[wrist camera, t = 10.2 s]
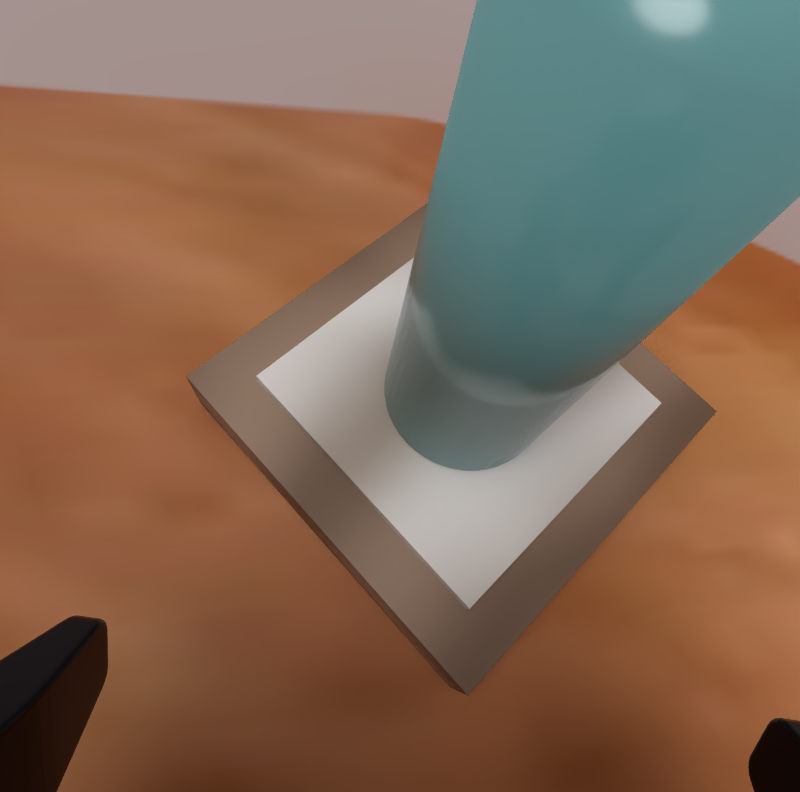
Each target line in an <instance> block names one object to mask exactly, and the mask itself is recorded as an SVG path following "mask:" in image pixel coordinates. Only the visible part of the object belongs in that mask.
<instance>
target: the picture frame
mask: <svg viewBox="0 0 800 792" xmlns="http://www.w3.org/2000/svg"><path fill="white" fill-rule="evenodd" d="M426 207H427V204H426V205H425V206H423V207H422V208H420V209H419V210H418V211H416V212H415V213H413V214H412V215H411V216H409V217H408V218H406V219H405V220H404V221H402V222H401V223H399V224H398V225H397V226H395V227H394V228H392V229H391V230H390V231H388V232H387V233H385V234H384V235H383V236H381V237H380V238H379V239H377V240H376V241H374V242H373V243H372V244H370V245H369V246H367V247H366V248H365V249H363V250H362V251H360V252H359V253H358V254H356V255H355V256H353V257H352V258H351V259H349V260H348V261H346V262H345V263H344V264H342V265H341V266H339V267H338V268H337V269H335V270H334V271H332V272H331V273H330V274H328V275H327V276H325V277H324V278H323V279H321V280H320V281H318V282H317V283H316V284H314V285H313V286H311V287H310V288H309V289H307V290H306V291H305V292H303V293H302V294H300V295H299V296H298V297H296V298H295V299H293V300H292V301H291V302H289V303H288V304H286V305H285V306H284V307H282V308H281V309H279V310H278V311H277V312H275V313H274V314H272V315H271V316H270V317H268V318H267V319H265V320H264V321H263V322H261V323H260V324H258V325H257V326H256V327H254V328H253V329H251V330H250V331H249V332H247V333H246V334H244V335H243V336H242V337H240V338H239V339H237V340H236V341H235V342H233V343H232V344H230V345H229V346H228V347H226V348H225V349H224V350H222V351H221V352H219V353H218V354H217V355H215V356H214V357H212V358H211V359H210V360H208V361H207V362H205V363H204V364H203V365H201V366H200V367H198V368H197V369H196V370H194V371H193V372H191V373H190V374H189V375H187V376H186V377H187V379H188V381H189V383H190V384H191V386H192V388H193V390H194V392H195V393H196V395H197V397H198V399H199V400H200V402H201V404H202V405H203V406H204V407H205V408H206V409H207V411H208V412H209V413H210V414H211V415H212V416H213V417H214V419H215V420H216V421H217V422H218V423H219V424H220V425H221V426H222V428H223V429H224V430H225V431H226V432H227V433H228V434H229V436H230V437H231V438H232V439H233V440H234V441H235V442H236V444H237V445H238V446H239V447H240V448H241V449H242V450H243V451H244V453H245V454H246V455H247V456H248V457H249V458H250V459H251V461H252V462H253V463H254V464H255V465H256V466H257V467H258V469H259V470H260V471H261V472H262V473H263V474H264V475H265V477H266V478H267V479H268V480H269V481H270V482H271V483H272V484H273V486H274V487H275V488H276V489H277V490H278V491H279V492H280V494H281V495H282V496H283V497H284V498H285V499H286V500H287V502H288V503H289V504H290V505H291V506H292V507H293V508H294V509H295V511H296V512H297V513H298V514H299V515H300V516H301V517H302V519H303V520H304V521H305V522H306V523H307V524H308V525H309V527H310V528H311V529H312V530H313V531H314V532H315V533H316V534H317V536H318V537H319V538H320V539H321V540H322V541H323V542H324V544H325V545H326V546H327V547H328V548H329V549H330V550H331V552H332V553H333V554H334V555H335V556H336V557H337V558H338V560H339V561H340V562H341V563H342V564H343V565H344V566H345V567H346V569H347V570H348V571H349V572H350V573H351V574H352V575H353V577H354V578H355V579H356V580H357V581H358V582H359V583H360V585H361V586H362V587H363V588H364V589H365V590H366V591H367V592H368V594H369V595H370V596H371V597H372V598H373V599H374V600H375V602H376V603H377V604H378V605H379V606H380V607H381V608H382V610H383V611H384V612H385V613H386V614H387V615H388V616H389V617H390V619H391V620H392V621H393V622H394V623H395V624H396V625H397V627H398V628H399V629H400V630H401V631H402V632H403V633H404V635H405V636H406V637H407V638H408V639H409V640H410V641H411V643H412V644H413V645H414V646H415V647H416V648H417V649H418V650H419V652H420V653H421V654H422V655H423V656H424V657H425V658H426V660H427V661H428V662H429V663H430V664H431V665H432V666H433V668H434V669H435V670H436V671H437V672H438V673H439V674H440V675H441V677H442V678H443V679H444V680H445V681H446V682H447V683H448V685H449V686H450V687H452V688H454V689H456V690H458V691H460V692H462V693H464V694H466V695H468V694H469V693H470V692H471V691H472V690H473V689H474V687H475V686H476V685H477V684H478V683H479V682H480V681H481V680H482V678H483V677H484V676H485V675H486V674H487V673H488V672H489V670H490V669H491V668H492V667H493V666H494V665H495V664H496V662H497V661H498V660H499V659H500V658H501V657H502V656H503V654H504V653H505V652H506V651H507V650H508V649H509V648H510V646H511V645H512V644H513V643H514V642H515V641H516V640H517V638H518V637H519V636H520V635H521V634H522V633H523V632H524V630H525V629H526V628H527V627H528V626H529V625H530V624H531V622H532V621H533V620H534V619H535V618H536V617H537V616H538V615H539V613H540V612H541V611H542V610H543V609H544V608H545V607H546V605H547V604H548V603H549V602H550V601H551V600H552V599H553V597H554V596H555V595H556V594H557V593H558V592H559V591H560V589H561V588H562V587H563V586H564V585H565V584H566V583H567V581H568V580H569V579H570V578H571V577H572V576H573V575H574V573H575V572H576V571H577V570H578V569H579V568H580V567H581V565H582V564H583V563H584V562H585V561H586V560H587V559H588V558H589V556H590V555H591V554H592V553H593V552H594V551H595V550H596V548H597V547H598V546H599V545H600V544H601V543H602V542H603V540H604V539H605V538H606V537H607V536H608V535H609V534H610V532H611V531H612V530H613V529H614V528H615V527H616V526H617V524H618V523H619V522H620V521H621V520H622V519H623V518H624V516H625V515H626V514H627V513H628V512H629V511H630V510H631V508H632V507H633V506H634V505H635V504H636V503H637V502H638V500H639V499H640V498H641V497H642V496H643V495H644V494H645V493H646V491H647V490H648V489H649V488H650V487H651V486H652V485H653V483H654V482H655V481H656V480H657V479H658V478H659V477H660V475H661V474H662V473H663V472H664V471H665V470H666V469H667V467H668V466H669V465H670V464H671V463H672V462H673V461H674V459H675V458H676V457H677V456H678V455H679V454H680V453H681V451H682V450H683V449H684V448H685V447H686V446H687V445H688V443H689V442H690V441H691V440H692V439H693V438H694V437H695V436H696V434H697V433H698V432H699V431H700V430H701V429H702V428H703V426H704V425H705V424H706V423H707V422H708V421H709V420H710V418H711V417H712V416H713V415H714V414H715V413H716V412H717V411H716V410H714V409H713V408H712V407H711V406H710V405H709V404H708V403H707V402H706V401H704V400H703V399H702V398H701V397H700V396H699V395H698V394H697V393H696V392H694V391H693V390H692V389H691V388H690V387H689V386H688V385H687V384H686V383H684V382H683V381H682V380H681V379H680V378H679V377H678V376H677V375H676V374H674V373H673V372H672V371H671V370H670V369H669V368H668V367H667V366H666V365H664V364H663V363H662V362H661V361H660V360H659V359H658V358H657V357H655V356H654V355H653V354H652V353H651V352H650V351H649V350H648V349H647V348H645V347H644V346H643V345H642V344H641V343H640V344H639V345H638V346H636V347H635V348H634V349H633V350H632V351H631V352H630V353H629V354H628V355H627V356H626V357H625V358H623V359H622V360H621V361H620V362H619V363H618V364H617V365H616V366H615V367H614V368H613V369H611V370H610V371H609V372H608V373H607V374H606V375H605V376H604V377H603V378H602V379H601V380H600V381H598V382H597V383H596V384H595V385H594V386H593V387H592V388H591V389H590V390H589V391H588V392H586V393H585V394H584V395H583V396H582V397H581V398H580V399H579V400H578V401H577V402H576V403H575V404H573V405H572V406H571V407H570V408H569V409H568V410H567V411H566V412H565V413H564V414H563V415H561V416H560V417H559V418H558V419H557V420H556V421H555V422H554V423H553V424H552V425H551V426H550V427H548V428H547V429H546V430H545V431H544V432H543V433H542V434H541V435H540V436H539V437H538V438H536V439H535V440H534V441H533V442H532V443H531V444H530V445H529V446H528V447H527V448H526V449H525V450H523V451H522V452H521V453H520V454H519V455H517V456H516V457H515V458H513V459H512V460H510V461H508V462H506V463H504V464H502V465H499V466H497V467H493V468H490V469H484V470H477V471H466V470H458V469H453V468H449V467H445V466H442V465H440V464H437V463H434V462H432V461H431V460H429V459H427V458H425V457H423V456H422V455H421V454H419V453H418V452H417V451H415V450H414V449H413V448H412V447H411V446H410V445H409V444H408V443H407V442H406V441H405V440H404V439H403V438H402V436H401V435H400V434H399V432H398V431H397V429H396V428H395V426H394V424H393V422H392V420H391V418H390V416H389V413H388V410H387V407H386V402H385V396H384V383H385V375H386V371H387V367H388V363H389V358H390V354H391V350H392V346H393V342H394V338H395V334H396V330H397V326H398V322H399V318H400V313H401V309H402V305H403V301H404V297H405V293H406V289H407V285H408V281H409V277H410V272H411V268H412V264H413V260H414V256H415V252H416V248H417V244H418V240H419V236H420V232H421V227H422V223H423V219H424V215H425V211H426Z"/></svg>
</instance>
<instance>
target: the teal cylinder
mask: <svg viewBox="0 0 800 792" xmlns="http://www.w3.org/2000/svg"><path fill="white" fill-rule="evenodd" d="M799 196H800V0H477V2H476V7H475V11H474V14H473V19H472V23H471V27H470V31H469V35H468V39H467V43H466V47H465V51H464V55H463V59H462V64H461V68H460V72H459V76H458V80H457V84H456V88H455V93H454V96H453V100H452V105H451V109H450V113H449V117H448V121H447V125H446V129H445V133H444V137H443V141H442V145H441V150H440V154H439V158H438V162H437V166H436V170H435V174H434V178H433V182H432V186H431V191H430V195H429V199H428V203H427V207H426V211H425V215H424V219H423V223H422V227H421V232H420V236H419V240H418V244H417V248H416V252H415V256H414V260H413V264H412V268H411V272H410V277H409V281H408V285H407V289H406V293H405V297H404V301H403V305H402V309H401V313H400V318H399V322H398V326H397V330H396V334H395V338H394V342H393V346H392V350H391V354H390V358H389V363H388V367H387V371H386V375H385V383H384V396H385V402H386V407H387V410H388V413H389V416H390V418H391V420H392V422H393V424H394V426H395V428H396V429H397V431H398V432H399V434H400V435H401V436H402V438H403V439H404V440H405V441H406V442H407V443H408V444H409V445H410V446H411V447H412V448H413V449H414V450H415V451H417V452H418V453H419V454H421V455H422V456H423V457H425V458H427V459H429V460H431V461H432V462H434V463H437V464H440V465H442V466H445V467H449V468H453V469H458V470H466V471H477V470H484V469H490V468H493V467H497V466H499V465H502V464H504V463H506V462H508V461H510V460H512V459H513V458H515V457H516V456H517V455H519V454H520V453H521V452H522V451H523V450H525V449H526V448H527V447H528V446H529V445H530V444H531V443H532V442H533V441H534V440H535V439H536V438H538V437H539V436H540V435H541V434H542V433H543V432H544V431H545V430H546V429H547V428H548V427H550V426H551V425H552V424H553V423H554V422H555V421H556V420H557V419H558V418H559V417H560V416H561V415H563V414H564V413H565V412H566V411H567V410H568V409H569V408H570V407H571V406H572V405H573V404H575V403H576V402H577V401H578V400H579V399H580V398H581V397H582V396H583V395H584V394H585V393H586V392H588V391H589V390H590V389H591V388H592V387H593V386H594V385H595V384H596V383H597V382H598V381H600V380H601V379H602V378H603V377H604V376H605V375H606V374H607V373H608V372H609V371H610V370H611V369H613V368H614V367H615V366H616V365H617V364H618V363H619V362H620V361H621V360H622V359H623V358H625V357H626V356H627V355H628V354H629V353H630V352H631V351H632V350H633V349H634V348H635V347H636V346H638V345H639V344H640V343H641V342H642V341H643V340H644V339H645V338H646V337H647V336H648V335H650V334H651V333H652V332H653V331H654V330H655V329H656V328H657V327H658V326H659V325H660V324H661V323H663V322H664V321H665V320H666V319H667V318H668V317H669V316H670V315H671V314H672V313H673V312H675V311H676V310H677V309H678V308H679V307H680V306H681V305H682V304H683V303H684V302H685V301H686V300H688V299H689V298H690V297H691V296H692V295H693V294H694V293H695V292H696V291H697V290H698V289H700V288H701V287H702V286H703V285H704V284H705V283H706V282H707V281H708V280H709V279H710V278H711V277H713V276H714V275H715V274H716V273H717V272H718V271H719V270H720V269H721V268H722V267H723V266H725V265H726V264H727V263H728V262H729V261H730V260H731V259H732V258H733V257H734V256H735V255H736V254H738V253H739V252H740V251H741V250H742V249H743V248H744V247H745V246H746V245H747V244H748V243H749V242H751V241H752V240H753V239H754V238H755V237H756V236H757V235H758V234H759V233H760V232H761V231H763V230H764V229H765V228H766V227H767V226H768V225H769V224H770V223H771V222H772V221H773V220H774V219H776V217H778V216H779V215H780V214H781V213H782V212H783V211H784V210H785V209H786V208H788V207H789V206H790V205H791V204H792V203H793V202H794V201H795V200H796V199H797V198H798V197H799Z"/></svg>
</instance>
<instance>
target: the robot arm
mask: <svg viewBox="0 0 800 792" xmlns="http://www.w3.org/2000/svg"><path fill="white" fill-rule="evenodd" d="M107 670H108V638H107V625H106V622H105V621H104V620H102V619H98V618H91V617H84V616H72V617H69V618H67V619H65V620H64V621H62V622H61V623H59V624H57V625H56V626H54V627H53V628H51V629H50V630H48V631H46V632H45V633H43V634H42V635H40V636H38V637H37V638H35V639H34V640H32V641H30V642H29V643H27V644H26V645H24V646H22V647H21V648H19V649H18V650H16V651H15V652H13V653H11V654H10V655H8V656H7V657H5V658H3V659H2V660H0V792H57V790H58V787H59V785H60V783H61V781H62V778H63V776H64V774H65V772H66V769H67V767H68V765H69V762H70V760H71V758H72V756H73V753H74V751H75V749H76V747H77V744H78V742H79V740H80V737H81V735H82V733H83V731H84V728H85V726H86V724H87V722H88V719H89V717H90V715H91V712H92V710H93V708H94V706H95V703H96V701H97V699H98V697H99V694H100V692H101V690H102V687H103V685H104V682H105V679H106V675H107ZM749 776H750V780H751V783H752V786H753V789H754V792H800V721H797V720H790V719H783V718H775V719H773V720H772V721H770V723H769V724H768V725H767V727H766V729H765V731H764V732H763V734H762V736H761V738H760V740H759V741H758V743H757V745H756V747H755V748H754V750H753V752H752V754H751V756H750V758H749Z"/></svg>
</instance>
